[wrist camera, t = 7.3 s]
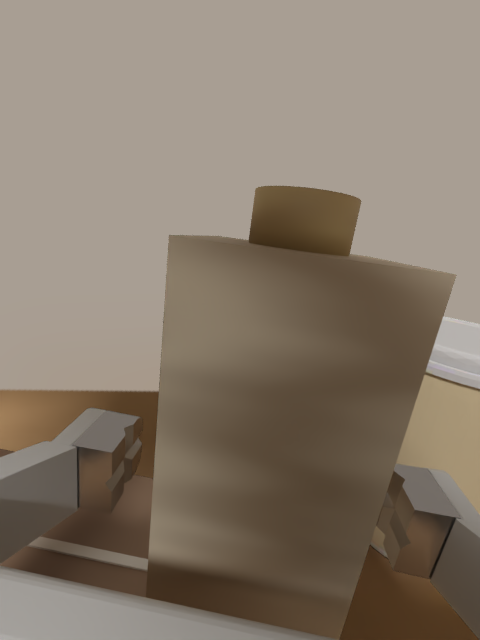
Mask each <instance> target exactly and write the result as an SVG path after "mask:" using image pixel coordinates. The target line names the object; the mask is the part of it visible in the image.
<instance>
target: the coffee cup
mask: <svg viewBox="0 0 480 640" xmlns="http://www.w3.org/2000/svg"><path fill="white" fill-rule="evenodd" d="M396 463H397V464H403V465H409V466H415V467H421V468H431V469H438V470H444V471H445V472H447V473H448V474H449V475H450V476H451V477H452V479H453V480H454V481H455V483H456V484H457V485H458V487H459V488H460V489H461V491H462V492H463V493H464V495H465V496H466V497H467V499H468V500H469V501H470V503H471V504H472V505H473V507H474V508H475V509H476V511H477V512H478V513H479V515H480V324H476V323H472V322H468V321H463V320H459V319H454V318H449V317H443V319H442V322H441V325H440V328H439V331H438V334H437V337H436V340H435V344H434V347H433V350H432V353H431V356H430V359H429V362H428V365H427V368H426V372H425V375H424V378H423V381H422V384H421V387H420V390H419V393H418V396H417V399H416V403H415V406H414V409H413V412H412V415H411V418H410V421H409V424H408V427H407V431H406V434H405V437H404V440H403V443H402V446H401V449H400V452H399V455H398V459H397V462H396ZM384 538H385V534H384V533H383V532H382V531H381V530H380V529H379V528H378V527H377V526H376V527H375V530H374V533H373V536H372V539H371V542H370V545H371V546H372V547H373V548H374V549H376V550H377V551H378V552H380V553H381V554H382V555H384V556H385V557H387V558H388V556H387V553H386V551H385V548H384V545H383V541H384Z"/></svg>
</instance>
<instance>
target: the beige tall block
mask: <svg viewBox="0 0 480 640" xmlns="http://www.w3.org/2000/svg"><path fill="white" fill-rule="evenodd" d="M360 204H361V200H360V199H358V198H356V197H354V196H351V195H347V194H343V193H338V192H333V191H327V190H321V189H314V188H305V187H291V186H263V187H258V188H256V190H255V198H254V205H253V213H252V220H251V228H250V235H249V240H243V239H236V238H229V237H221V236H187V235H186V236H185V235H169V243H168V259H167V275H166V290H165V305H164V321H163V337H162V352H161V368H160V383H159V399H158V414H157V430H156V445H155V461H154V477H153V492H152V508H151V523H150V539H149V554H148V570H147V585H146V598H151V599H155V600H160V601H164V602H169V603H174V604H178V605H183V606H187V607H192V608H196V609H201V610H206V611H210V612H215V613H219V614H224V615H228V616H233V617H238V618H242V619H247V620H251V621H256V622H260V623H265V624H270V625H274V626H279V627H283V628H288V629H292V630H297V631H301V632H306V633H311V634H315V635H320V636H324V637H329V638H334V639H338V640H339V639H340V636H341V633H342V630H343V626H344V623H345V620H346V617H347V614H348V611H349V608H350V605H351V602H352V598H353V595H354V592H355V589H356V586H357V583H358V580H359V577H360V574H361V570H362V567H363V564H364V561H365V558H366V555H367V552H368V549H369V546H370V542H371V539H372V536H373V533H374V530H375V527H376V524H377V521H378V518H379V515H380V511H381V508H382V505H383V502H384V499H385V496H386V493H387V490H388V487H389V483H390V480H391V477H392V474H393V471H394V468H395V465H396V462H397V459H398V455H399V452H400V449H401V446H402V443H403V440H404V437H405V434H406V431H407V427H408V424H409V421H410V418H411V415H412V412H413V409H414V406H415V403H416V399H417V396H418V393H419V390H420V387H421V384H422V381H423V378H424V375H425V372H426V368H427V365H428V362H429V359H430V356H431V353H432V350H433V347H434V344H435V340H436V337H437V334H438V331H439V328H440V325H441V322H442V319H443V316H444V312H445V309H446V306H447V303H448V300H449V297H450V294H451V291H452V287H453V284H454V281H455V278H456V275H455V274H450V273H445V272H441V271H436V270H431V269H426V268H421V267H417V266H412V265H407V264H402V263H397V262H392V261H388V260H382V259H378V258H373V257H368V256H361V255H353V254H350V249H351V245H352V240H353V236H354V231H355V227H356V222H357V217H358V213H359V209H360Z"/></svg>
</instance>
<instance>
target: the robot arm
mask: <svg viewBox="0 0 480 640" xmlns="http://www.w3.org/2000/svg"><path fill="white" fill-rule="evenodd" d="M142 431H143V420H142V418H141V417H138V416H133V415H128V414H123V413H118V412H113V411H107V410H102V409H97V408H88V409H86V410H85V411H84V412H83V413H82V414H81V415H80V416H79V417H78V418H76V419H75V420H74V421H73V422H72V423H71V424H70V425H69V426H68V427H67V428H65V429H64V430H63V431H62V432H61V433H60V434H59V435H58V436H57V437H56V438H55V439H53V440H52V441H51V442H48V441H44V442H41V443H38V444H35V445H33V446H30V447H27V448H25V449H22V450H19V451H16V452H14V453H11V454H8V455H5V456H3V457H0V564H1V563H2V562H4V561H5V560H7V559H8V558H10V557H11V556H13V555H14V554H15V553H17V552H18V551H20V550H21V549H23V548H24V547H25V546H27V545H28V544H30V543H31V542H33V541H34V540H36V539H37V538H38V537H40V536H41V535H43V534H44V533H46V532H47V531H49V530H50V529H51V528H53V527H54V526H56V525H57V524H59V523H60V522H62V521H63V520H64V519H66V518H67V517H69V516H70V515H72V514H73V513H74V512H76V511H77V510H78V508H79V509H85V510H91V511H97V512H103V513H109V514H111V513H112V511H113V509H114V508H115V506H116V504H117V503H118V501H119V499H120V498H121V496H122V494H123V493H124V483H126V482H127V481H129V480H131V479H132V477H133V475H134V474H135V472H136V470H137V467H138V464H139V461H140V457H141V452H142V443H141V441H140V440H139V438H138V437H139V435H140V434H141V432H142ZM376 526H377V527H378V528H379V529H380V530H381V531H382V532H383V533H384V534H385V538H384V541H383V545H384V548H385V551H386V553H387V556H388V559H389V562H390V564H391V567H392V570H393V571H396V572H400V573H405V574H409V575H413V576H418V577H422V578H426V579H430V582H431V583H432V584H433V585H434V587H435V588H436V589H437V590H438V591H439V593H440V594H441V595H442V596H443V597H444V599H445V600H446V601H447V602H448V603H449V604H450V606H451V607H452V608H453V609H454V610H455V612H456V613H457V614H458V615H459V616H460V617H461V619H462V620H463V621H464V622H465V623H466V625H467V626H468V627H469V628H470V629H471V631H472V632H473V633H474V634H475V635H476V636H477V638H478V639H479V640H480V515H479V513H478V512H477V511H476V509H475V508H474V507H473V505H472V504H471V503H470V501H469V500H468V499H467V497H466V496H465V495H464V493H463V492H462V491H461V489H460V488H459V487H458V485H457V484H456V483H455V481H454V480H453V479H452V477H451V476H450V475H449V474H448V473H447V472H445V471H444V470H438V469H431V468H421V467H415V466H409V465H403V464H397V463H396V465H395V468H394V471H393V474H392V477H391V480H390V483H389V487H388V490H387V493H386V496H385V499H384V502H383V505H382V508H381V511H380V515H379V518H378V521H377V524H376ZM0 640H338V639H334V638H329V637H324V636H320V635H315V634H311V633H306V632H301V631H297V630H292V629H288V628H283V627H279V626H274V625H270V624H265V623H260V622H256V621H251V620H247V619H242V618H238V617H233V616H228V615H224V614H219V613H215V612H210V611H206V610H201V609H196V608H192V607H187V606H183V605H178V604H174V603H169V602H164V601H160V600H155V599H151V598H146V597H142V596H137V595H132V594H128V593H123V592H119V591H114V590H110V589H105V588H100V587H96V586H91V585H87V584H82V583H78V582H73V581H68V580H64V579H59V578H55V577H50V576H45V575H41V574H36V573H32V572H27V571H23V570H18V569H13V568H9V567H4V566H0Z"/></svg>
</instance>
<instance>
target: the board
mask: <svg viewBox="0 0 480 640" xmlns="http://www.w3.org/2000/svg"><path fill="white" fill-rule="evenodd" d="M11 453H14V451H8V450H3V449H0V457H3V456H5V455H8V454H11ZM152 492H153V478H149V477H144V476H138V475H133V477H132V479H131V480H129V481H127V482H126V483H124V493H123V494H122V496H121V498H120V499H119V501H118V503H117V504H116V506H115V508H114V509H113V511H112V513H111V514H109V513H103V512H97V511H91V510H85V509H79V508H78V510H77V511H76V512H74V513H73V514H72V515H70V516H69V517H67V518H66V519H64V520H63V521H62V522H60V523H59V524H57V525H56V526H54V527H53V528H51V529H50V530H49V531H47V532H46V533H44V534H43V535H41V536H40V537H38V538H37V539H36V540H34V541H33V542H31V543H30V544H28V545H27V546H25V547H24V548H23V549H21V550H20V551H18V552H17V553H15V554H14V555H13V556H11V557H10V558H8V559H7V560H5V561H4V562H2V563H1V564H0V566H4V567H9V568H13V569H18V570H23V571H27V572H32V573H36V574H41V575H45V576H50V577H55V578H59V579H64V580H68V581H73V582H78V583H82V584H87V585H91V586H96V587H100V588H105V589H110V590H114V591H119V592H123V593H128V594H132V595H137V596H142V597H146V585H147V570H148V554H149V539H150V523H151V508H152Z"/></svg>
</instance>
